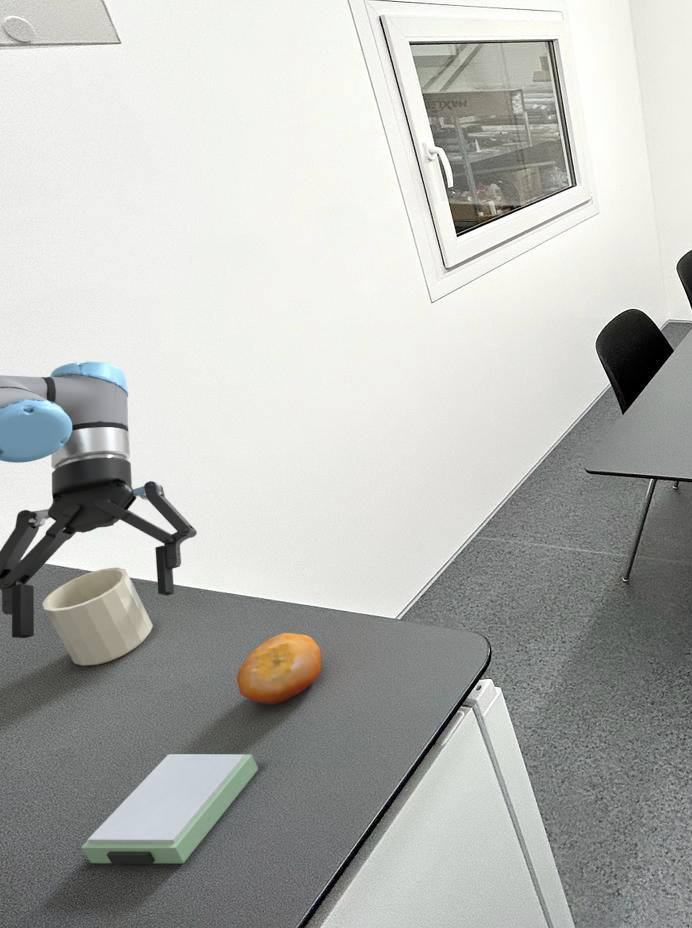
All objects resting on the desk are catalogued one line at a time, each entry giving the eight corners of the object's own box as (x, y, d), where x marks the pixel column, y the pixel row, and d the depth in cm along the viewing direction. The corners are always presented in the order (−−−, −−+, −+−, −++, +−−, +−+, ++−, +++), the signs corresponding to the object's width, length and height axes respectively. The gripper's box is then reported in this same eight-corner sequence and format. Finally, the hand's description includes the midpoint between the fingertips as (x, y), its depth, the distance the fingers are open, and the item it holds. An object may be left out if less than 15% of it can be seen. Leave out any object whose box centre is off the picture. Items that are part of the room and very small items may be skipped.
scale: (87, 867, 61) (74, 847, 60) (177, 769, 70) (167, 750, 69) (180, 867, 61) (169, 848, 60) (258, 769, 70) (250, 751, 69)
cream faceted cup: (65, 678, 81) (31, 619, 77) (86, 637, 87) (56, 581, 83) (145, 652, 85) (116, 595, 81) (160, 614, 91) (134, 560, 87)
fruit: (309, 635, 86) (304, 612, 81) (333, 685, 83) (329, 664, 78) (233, 675, 80) (223, 653, 75) (256, 729, 77) (247, 710, 72)
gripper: (215, 447, 99) (229, 580, 93) (-20, 499, 86) (-24, 656, 80) (196, 433, 93) (209, 574, 86) (-60, 486, 80) (-67, 656, 74)
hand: (97, 614), depth 83 cm, fingers open, 13 cm apart
